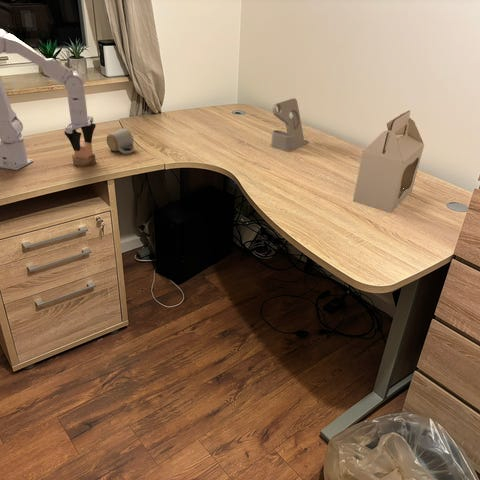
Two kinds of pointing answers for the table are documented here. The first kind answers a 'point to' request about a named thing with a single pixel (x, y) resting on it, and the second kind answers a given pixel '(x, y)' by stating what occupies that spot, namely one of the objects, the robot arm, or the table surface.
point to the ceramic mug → (120, 141)
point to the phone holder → (288, 127)
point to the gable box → (390, 165)
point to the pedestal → (84, 161)
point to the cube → (84, 150)
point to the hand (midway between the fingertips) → (82, 147)
